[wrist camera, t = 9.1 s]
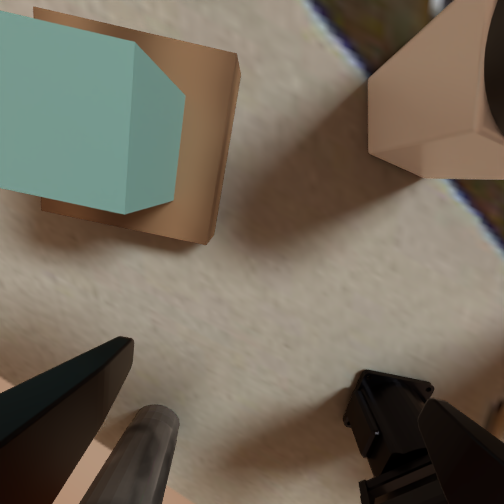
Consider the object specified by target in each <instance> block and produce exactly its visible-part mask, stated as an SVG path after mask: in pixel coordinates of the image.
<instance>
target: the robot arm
mask: <svg viewBox="0 0 504 504" xmlns="http://www.w3.org/2000/svg"><path fill="white" fill-rule="evenodd" d="M133 352H134V340H133V339H132V338H128V337H123V336H119V337H116V338H114V339H112V340H110V341H108V342H106V343H104V344H102V345H100V346H98V347H96V348H93V349H91V350H89V351H87V352H85V353H83V354H81V355H79V356H77V357H75V358H73V359H71V360H69V361H66V362H64V363H62V364H60V365H58V366H56V367H54V368H52V369H50V370H48V371H46V372H44V373H42V374H39V375H37V376H35V377H33V378H31V379H29V380H27V381H25V382H23V383H21V384H19V385H17V386H15V387H12V388H11V389H8V390H6V391H4V392H2V393H0V504H52V503H53V502H54V500H55V498H56V497H57V495H58V494H59V492H60V490H61V489H62V487H63V486H64V484H65V483H66V481H67V479H68V478H69V476H70V475H71V473H72V472H73V470H74V468H75V467H76V465H77V464H78V462H79V461H80V459H81V457H82V456H83V454H84V453H85V451H86V449H87V448H88V446H89V445H90V443H91V442H92V440H93V438H94V437H95V435H96V434H97V432H98V430H99V429H100V427H101V425H102V424H103V422H104V420H105V418H106V416H107V414H108V412H109V410H110V408H111V406H112V404H113V403H114V401H115V399H116V397H117V395H118V393H119V391H120V389H121V387H122V385H123V383H124V381H125V379H126V377H127V375H128V373H129V371H130V369H131V366H132V363H133ZM369 375H370V376H369ZM367 376H368V377H367ZM433 391H434V387H433V386H432V384H431V383H430V382H427V381H422V380H417V379H412V378H407V377H402V376H397V375H392V374H387V373H382V372H377V371H372V370H365V371H363V373H362V375H361V377H360V379H359V382H358V384H357V386H356V389H355V391H354V392H353V394H352V396H351V399H350V401H349V404H348V406H347V408H346V413H345V415H344V418H343V422H344V425H345V426H346V427H350V428H352V431H353V434H354V436H355V439H356V442H357V445H358V448H359V450H360V453H361V455H362V456H363V458H367V459H368V462H369V465H370V467H371V470H372V473H373V475H374V477H373V478H371V479H369V480H367V481H366V480H363V481H360V482H359V488H360V493H361V496H360V498H361V503H362V504H504V443H503V442H502V441H500V440H499V439H497V438H496V437H495V436H493V435H492V434H491V433H489V432H488V431H486V430H485V429H484V428H482V427H481V426H480V425H478V424H477V423H475V422H474V421H473V420H471V419H470V418H468V417H467V416H466V415H464V414H463V413H462V412H460V411H459V410H457V409H456V408H455V407H453V406H452V405H451V404H449V403H448V402H446V401H444V400H440V399H435V398H430V397H431V395H432V393H433Z"/></svg>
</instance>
